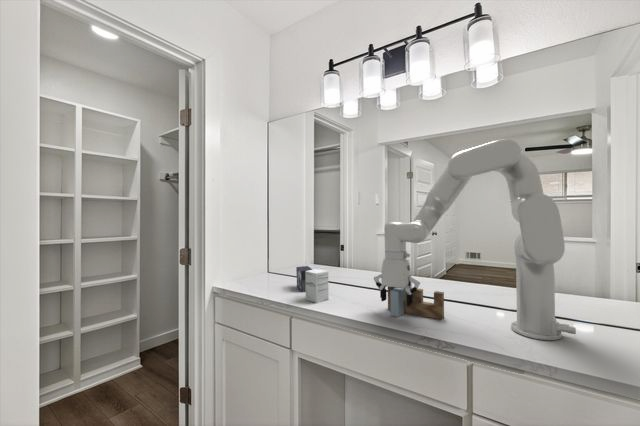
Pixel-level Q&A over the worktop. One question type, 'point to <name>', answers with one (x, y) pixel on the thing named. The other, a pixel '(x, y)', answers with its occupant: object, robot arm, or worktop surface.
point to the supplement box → (316, 285)
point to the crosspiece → (397, 301)
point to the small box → (302, 277)
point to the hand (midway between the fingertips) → (396, 302)
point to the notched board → (423, 304)
